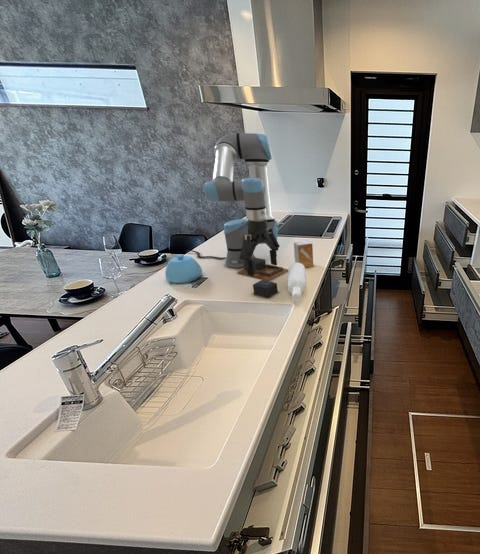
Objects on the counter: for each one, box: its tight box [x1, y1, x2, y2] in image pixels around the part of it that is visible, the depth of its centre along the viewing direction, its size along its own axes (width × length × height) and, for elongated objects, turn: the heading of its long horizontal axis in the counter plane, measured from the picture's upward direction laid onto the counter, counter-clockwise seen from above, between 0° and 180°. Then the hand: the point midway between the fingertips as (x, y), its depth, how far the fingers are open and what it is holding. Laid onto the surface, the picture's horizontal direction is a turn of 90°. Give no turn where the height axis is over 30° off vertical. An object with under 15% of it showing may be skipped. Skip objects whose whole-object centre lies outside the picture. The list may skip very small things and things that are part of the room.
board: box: [237, 256, 289, 281], centre depth 153 cm, size 20×14×6 cm
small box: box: [293, 240, 314, 269], centre depth 161 cm, size 8×6×13 cm
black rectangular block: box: [252, 279, 279, 299], centre depth 131 cm, size 8×6×5 cm
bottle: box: [287, 262, 307, 303], centre depth 134 cm, size 8×8×30 cm
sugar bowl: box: [164, 253, 203, 284], centre depth 142 cm, size 15×15×12 cm
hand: (263, 269), depth 128 cm, fingers open, 13 cm apart
